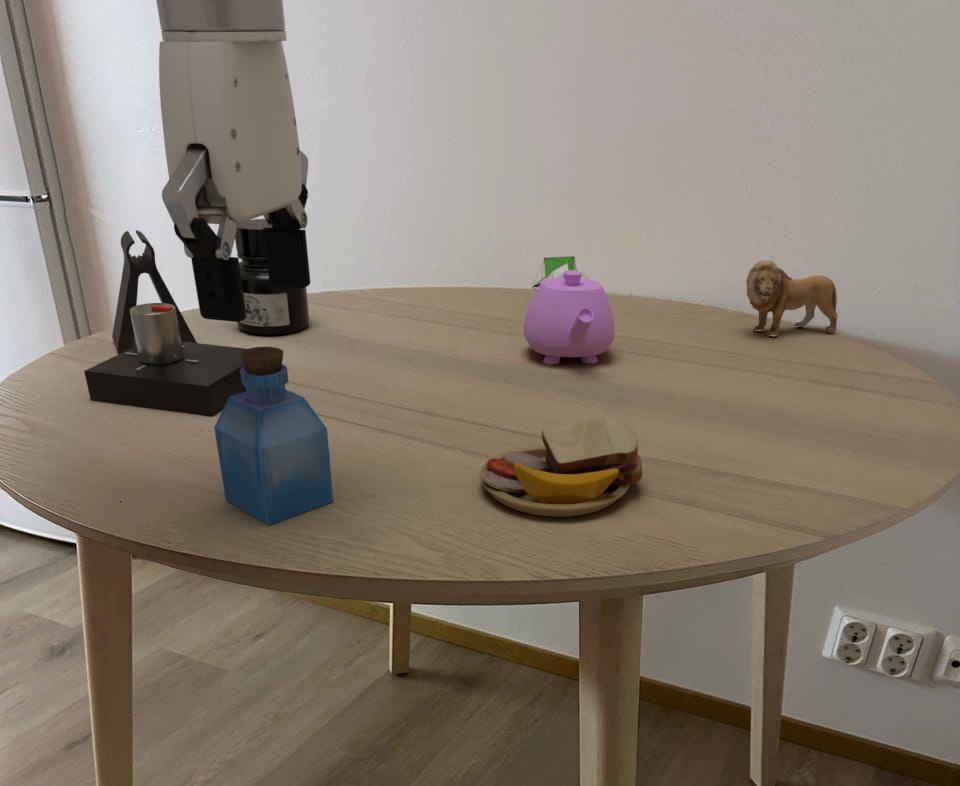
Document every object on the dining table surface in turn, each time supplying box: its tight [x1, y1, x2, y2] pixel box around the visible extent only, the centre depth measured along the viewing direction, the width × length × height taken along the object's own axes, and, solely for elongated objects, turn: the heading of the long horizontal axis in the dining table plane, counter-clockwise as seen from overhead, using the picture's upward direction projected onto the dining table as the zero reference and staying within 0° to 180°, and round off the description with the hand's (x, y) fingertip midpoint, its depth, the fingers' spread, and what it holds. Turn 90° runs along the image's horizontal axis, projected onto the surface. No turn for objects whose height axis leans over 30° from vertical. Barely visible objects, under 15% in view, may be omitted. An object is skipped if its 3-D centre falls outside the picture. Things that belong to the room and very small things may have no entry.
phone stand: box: [111, 229, 198, 355], centre depth 107 cm, size 9×6×12 cm, turn 113°
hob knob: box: [130, 302, 183, 364], centre depth 94 cm, size 4×4×5 cm
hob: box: [83, 341, 247, 417], centre depth 96 cm, size 14×12×3 cm
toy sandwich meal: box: [478, 415, 643, 518], centre depth 76 cm, size 12×14×5 cm
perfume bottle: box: [213, 346, 334, 526], centre depth 72 cm, size 6×6×12 cm
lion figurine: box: [746, 259, 838, 336], centre depth 115 cm, size 15×5×9 cm, turn 112°
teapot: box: [523, 269, 616, 365], centre depth 105 cm, size 10×15×9 cm
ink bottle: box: [234, 218, 310, 336], centre depth 113 cm, size 10×9×12 cm
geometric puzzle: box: [531, 255, 589, 292], centre depth 124 cm, size 7×7×8 cm
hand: (259, 301), depth 66 cm, fingers open, 9 cm apart
